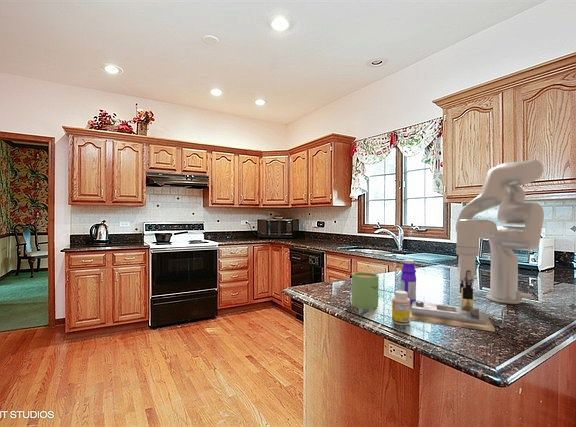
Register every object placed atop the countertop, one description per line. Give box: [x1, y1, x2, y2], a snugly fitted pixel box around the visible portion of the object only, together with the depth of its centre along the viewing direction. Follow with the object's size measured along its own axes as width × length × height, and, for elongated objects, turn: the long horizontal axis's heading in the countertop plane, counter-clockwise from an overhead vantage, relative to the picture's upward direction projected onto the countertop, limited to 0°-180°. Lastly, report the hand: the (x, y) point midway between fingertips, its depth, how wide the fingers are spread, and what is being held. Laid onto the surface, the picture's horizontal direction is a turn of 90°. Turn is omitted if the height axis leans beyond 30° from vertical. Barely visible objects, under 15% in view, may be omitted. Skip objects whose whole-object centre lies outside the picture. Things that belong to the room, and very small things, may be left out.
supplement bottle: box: [391, 290, 411, 326], centre depth 101 cm, size 6×6×10 cm
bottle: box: [400, 258, 417, 305], centre depth 125 cm, size 7×6×17 cm
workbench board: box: [410, 305, 496, 333], centre depth 106 cm, size 26×14×1 cm, turn 66°
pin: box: [460, 287, 474, 311], centre depth 118 cm, size 4×4×8 cm
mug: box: [351, 271, 380, 310], centre depth 121 cm, size 13×10×12 cm
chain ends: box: [411, 300, 486, 325], centre depth 106 cm, size 22×9×3 cm, turn 66°
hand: (466, 296), depth 117 cm, fingers open, 9 cm apart
